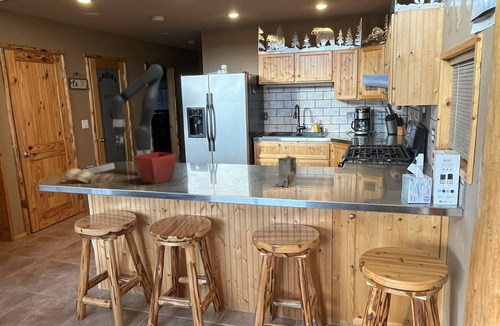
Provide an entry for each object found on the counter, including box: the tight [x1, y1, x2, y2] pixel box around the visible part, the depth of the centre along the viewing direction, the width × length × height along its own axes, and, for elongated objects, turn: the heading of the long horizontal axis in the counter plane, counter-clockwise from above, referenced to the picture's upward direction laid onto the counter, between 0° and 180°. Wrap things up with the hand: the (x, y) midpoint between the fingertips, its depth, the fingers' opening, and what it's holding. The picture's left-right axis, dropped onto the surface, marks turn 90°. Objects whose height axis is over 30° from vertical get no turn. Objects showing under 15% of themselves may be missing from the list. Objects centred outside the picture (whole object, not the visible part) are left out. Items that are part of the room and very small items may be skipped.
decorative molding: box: [82, 162, 116, 174], centre depth 265 cm, size 34×5×10 cm
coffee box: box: [277, 156, 297, 188], centre depth 207 cm, size 9×6×16 cm
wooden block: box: [89, 173, 114, 184], centre depth 235 cm, size 11×14×3 cm
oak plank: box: [64, 167, 96, 184], centre depth 233 cm, size 14×14×3 cm
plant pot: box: [133, 151, 177, 185], centre depth 227 cm, size 19×19×17 cm
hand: (119, 150), depth 246 cm, fingers open, 8 cm apart
